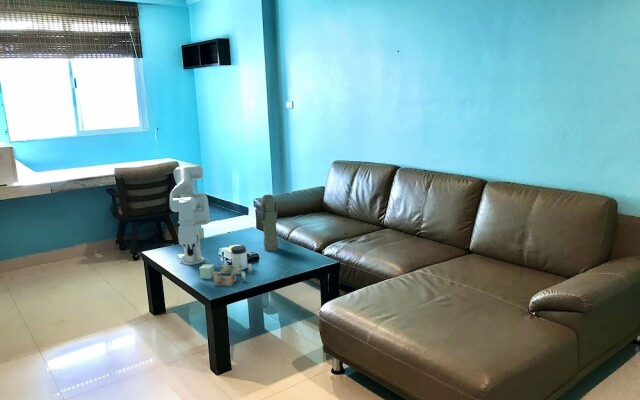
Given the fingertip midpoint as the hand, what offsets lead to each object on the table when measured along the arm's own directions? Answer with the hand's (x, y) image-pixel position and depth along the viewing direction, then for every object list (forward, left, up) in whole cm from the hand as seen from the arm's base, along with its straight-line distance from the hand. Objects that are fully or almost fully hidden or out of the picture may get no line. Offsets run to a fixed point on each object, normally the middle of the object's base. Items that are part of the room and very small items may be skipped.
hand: (190, 255), depth 269 cm
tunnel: (+20, -2, -12) cm, 24 cm away
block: (+8, +1, -12) cm, 15 cm away
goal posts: (+31, +1, -12) cm, 33 cm away
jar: (+22, +15, -12) cm, 29 cm away
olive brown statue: (+32, +48, -12) cm, 59 cm away
